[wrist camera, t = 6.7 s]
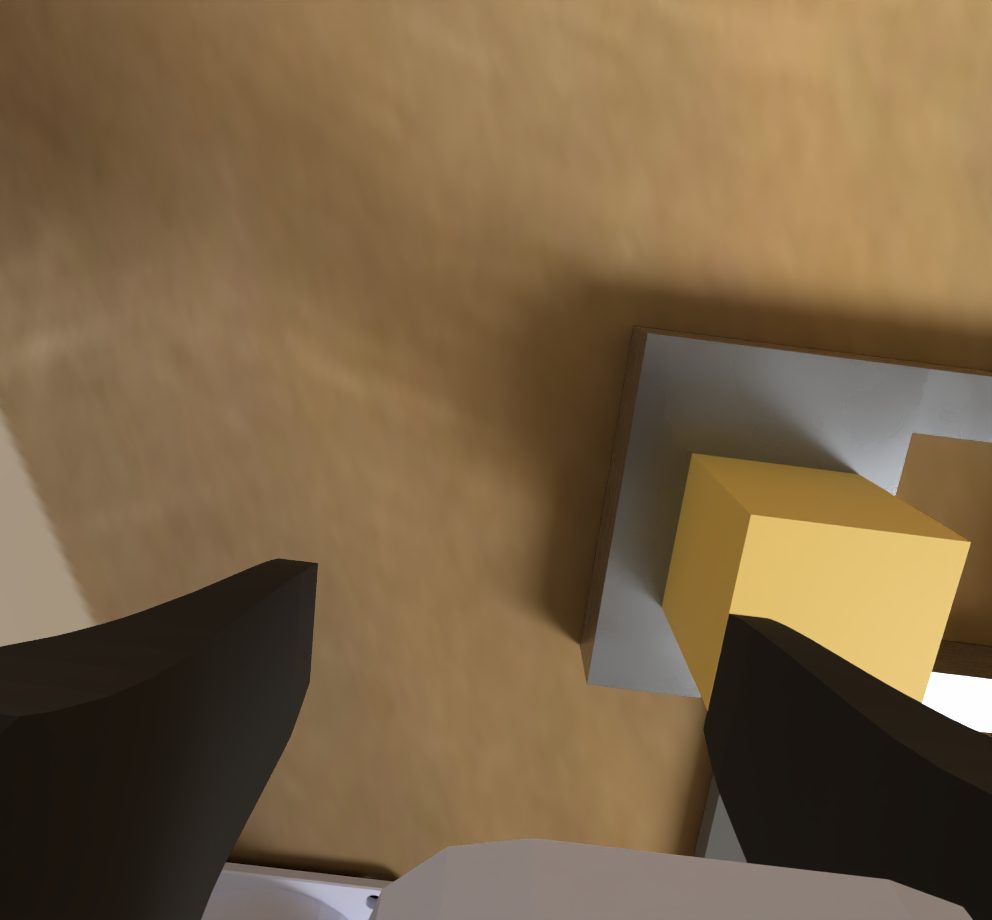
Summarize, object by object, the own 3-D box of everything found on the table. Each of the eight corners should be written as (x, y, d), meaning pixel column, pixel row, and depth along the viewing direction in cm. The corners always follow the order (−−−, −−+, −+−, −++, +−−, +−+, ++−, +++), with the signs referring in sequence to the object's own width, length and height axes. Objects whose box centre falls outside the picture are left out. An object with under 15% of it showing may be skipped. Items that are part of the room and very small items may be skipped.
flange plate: (580, 645, 21) (587, 686, 19) (633, 326, 19) (648, 333, 17) (1066, 704, 22) (1124, 750, 20) (1176, 395, 19) (1255, 410, 17)
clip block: (661, 607, 19) (707, 710, 15) (691, 453, 18) (751, 514, 14) (820, 627, 19) (912, 735, 15) (859, 474, 18) (971, 541, 14)
